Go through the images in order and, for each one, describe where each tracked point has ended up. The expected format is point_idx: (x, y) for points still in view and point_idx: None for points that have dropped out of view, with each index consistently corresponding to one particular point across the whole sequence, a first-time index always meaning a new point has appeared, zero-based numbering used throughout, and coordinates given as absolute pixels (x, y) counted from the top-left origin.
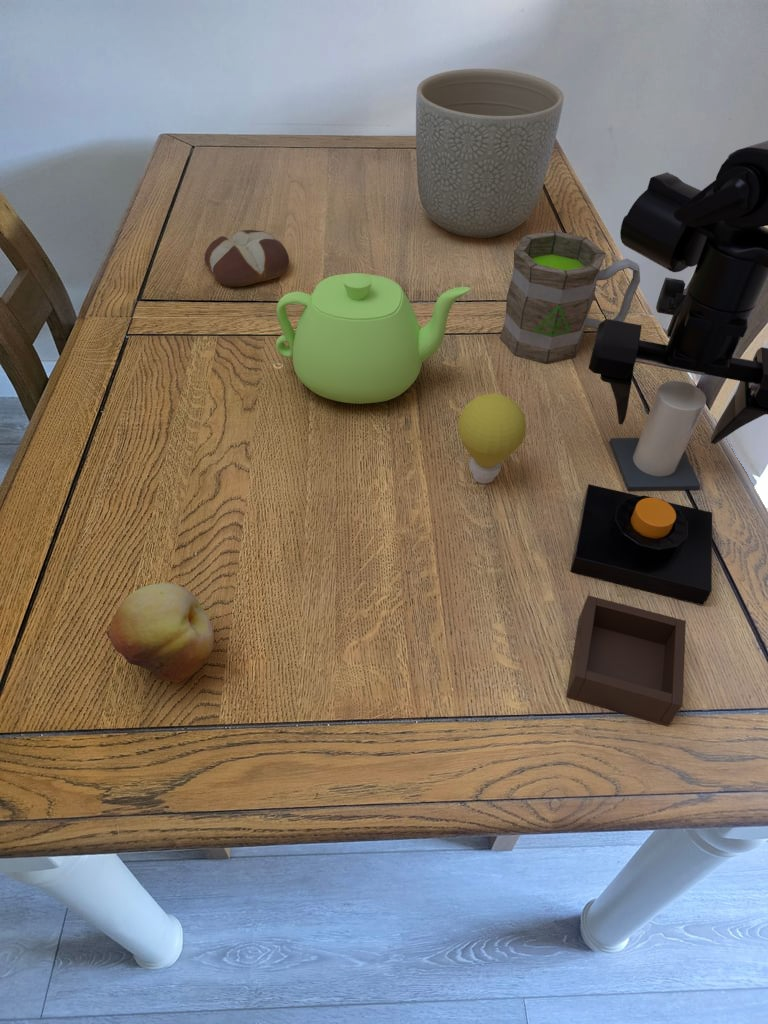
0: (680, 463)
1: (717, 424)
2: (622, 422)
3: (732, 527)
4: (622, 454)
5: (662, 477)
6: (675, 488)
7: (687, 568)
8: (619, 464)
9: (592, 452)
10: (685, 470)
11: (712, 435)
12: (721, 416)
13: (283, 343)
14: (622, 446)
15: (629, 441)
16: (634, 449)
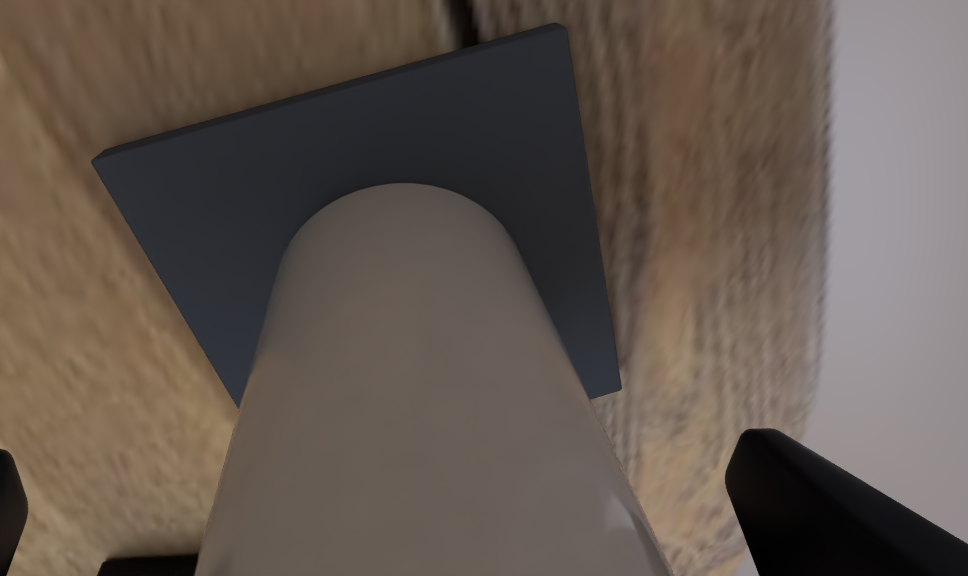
0: (547, 274)
1: (827, 535)
2: (4, 562)
3: (692, 501)
4: (209, 296)
5: None
6: None
7: None
8: (211, 359)
9: (28, 271)
10: (566, 316)
11: (756, 466)
12: (903, 568)
13: None
14: (193, 224)
15: (231, 161)
16: (276, 231)
